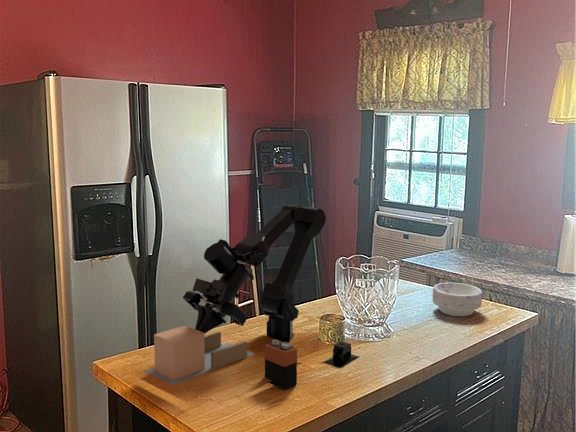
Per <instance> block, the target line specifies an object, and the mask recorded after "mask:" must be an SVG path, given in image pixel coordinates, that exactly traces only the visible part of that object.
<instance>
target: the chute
mask: <svg viewBox="0 0 576 432" xmlns="http://www.w3.org/2000/svg"><path fill="white" fill-rule="evenodd" d="M204 343H205V369H203V370H200V371H198V372H195V373H192V374H190V375H187V376H184V377H181V378H179V379H176V380H173V379H171V378H169V377H167V376H164V375H162V374H160V373H158V372H156V371H155V367H152V368H149V369H146V370H144V372H145V373H147V374H149V375H152V376H153V377H155V378H158V379H160V380H162V381H163V382H166V383H167V384H169V385H173V386H174V385H176V384H179V383H181V382H184V381H187V380H190V379H192V378H195V377H197V376H200V375H203V374H206V373H208V372H211V371H214V370H216V369H218V368H221V367H224V366H226V365H229V364H232V363H234V362H238V361H240V360H242V359H243V360H244V359H246V358H249V357H250V356H253V355H256V353H255V352H254V351H253V352H252V351H250V350H248V341H247V340H243V341H240V342H237V343H233V344H231V343H229V342H226V343H222V332H221V331H219V330H218V331H217V330H216V331H215V332H212V333H208V334H204Z"/></svg>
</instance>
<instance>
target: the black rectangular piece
mask: <svg viewBox="0 0 576 432" xmlns="http://www.w3.org/2000/svg"><path fill="white" fill-rule="evenodd" d="M359 358H360V356H359V355H355V354H352V343H349V342H346V341H343V340H342V341H339V342H338V343H335V344H333V349H332V357H330V358H328V359H326V360H323V361H322V362H321V363H322V364H325V365H328V366H332V367H336V368H339V369H342V368H344V367H346V366H347V365H349V364H350V363H352V362H354V361H355V360H357V359H359Z"/></svg>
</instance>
